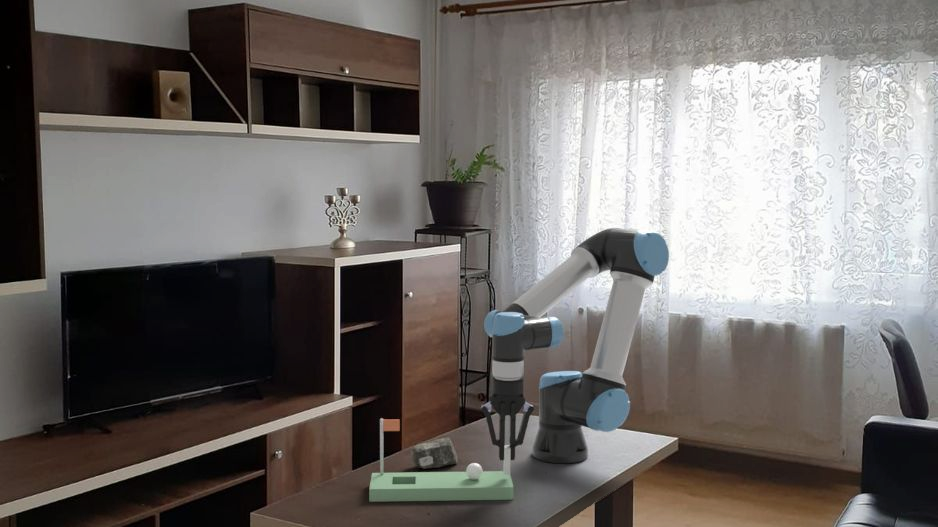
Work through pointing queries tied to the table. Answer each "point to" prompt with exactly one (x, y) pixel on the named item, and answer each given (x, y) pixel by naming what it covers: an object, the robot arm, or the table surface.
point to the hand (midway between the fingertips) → (506, 472)
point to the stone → (434, 454)
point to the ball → (474, 471)
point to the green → (435, 482)
